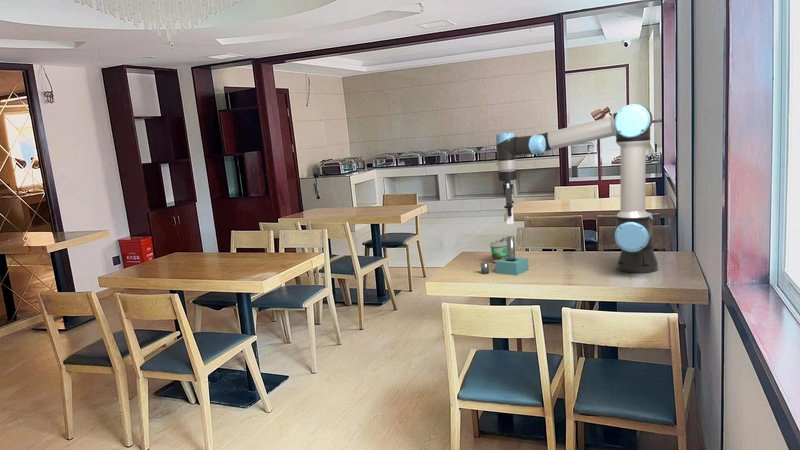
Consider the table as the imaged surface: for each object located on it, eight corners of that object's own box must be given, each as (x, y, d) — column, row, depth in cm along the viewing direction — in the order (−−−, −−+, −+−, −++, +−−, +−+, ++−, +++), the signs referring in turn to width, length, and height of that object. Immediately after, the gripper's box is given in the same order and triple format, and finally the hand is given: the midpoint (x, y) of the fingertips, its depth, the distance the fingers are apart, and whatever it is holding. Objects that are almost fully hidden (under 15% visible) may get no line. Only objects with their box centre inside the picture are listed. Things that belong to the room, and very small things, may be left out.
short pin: (490, 272, 237) (489, 262, 237) (486, 274, 235) (485, 264, 234) (484, 272, 239) (483, 261, 239) (480, 273, 237) (479, 263, 236)
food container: (503, 265, 249) (502, 243, 248) (491, 264, 253) (489, 242, 252) (515, 259, 259) (514, 238, 258) (503, 258, 263) (502, 237, 261)
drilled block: (528, 269, 237) (528, 258, 236) (516, 275, 230) (516, 263, 229) (507, 267, 243) (507, 256, 243) (495, 273, 236) (495, 261, 235)
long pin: (517, 271, 237) (515, 236, 234) (513, 272, 234) (511, 237, 232) (510, 270, 239) (509, 235, 236) (506, 272, 236) (505, 237, 234)
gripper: (498, 169, 243) (501, 217, 246) (497, 173, 219) (500, 226, 222) (515, 168, 242) (518, 216, 245) (516, 171, 217) (520, 225, 220)
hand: (510, 221), depth 233 cm, fingers open, 13 cm apart
